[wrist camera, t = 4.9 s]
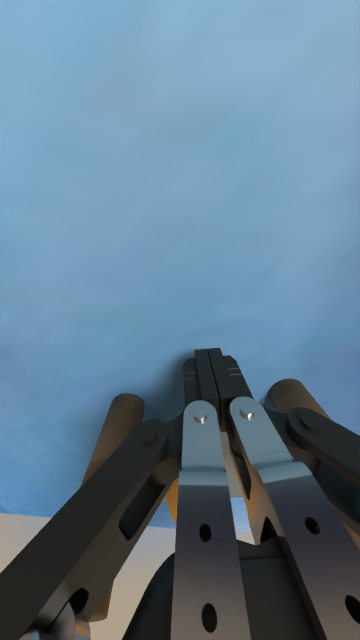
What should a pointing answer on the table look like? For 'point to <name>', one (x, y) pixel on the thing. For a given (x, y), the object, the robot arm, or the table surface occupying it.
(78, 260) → the table surface
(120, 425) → the post
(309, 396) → the post
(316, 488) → the robot arm
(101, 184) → the table surface
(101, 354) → the table surface
